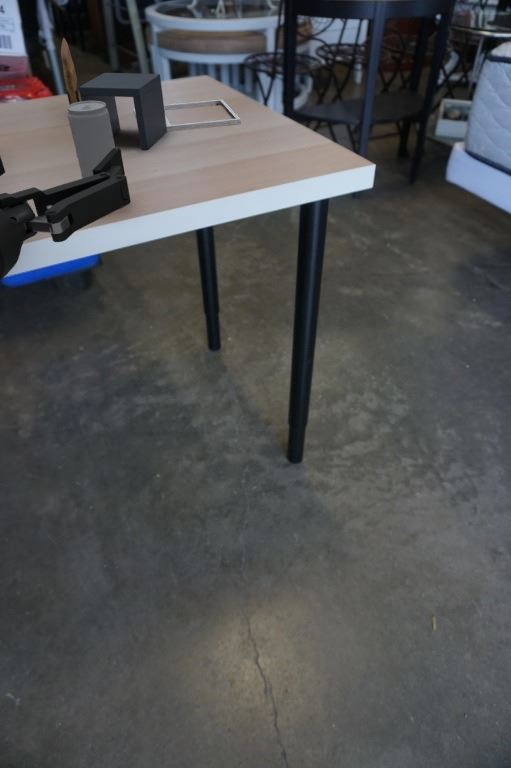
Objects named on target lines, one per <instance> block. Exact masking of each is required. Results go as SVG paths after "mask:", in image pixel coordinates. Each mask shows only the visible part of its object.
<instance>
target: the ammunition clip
mask: <svg viewBox="0 0 511 768" xmlns="http://www.w3.org/2000/svg"><path fill="white" fill-rule="evenodd" d="M60 58H61V63H62V69H63V78H64V82H65V87H66V95H67V100H68V106H69V105H70V104H73V103H77V102H82V101H81V95H80V92H79V87H80V83H79V82H80V81H79V78H78V77H77V73H76V67H75V63H74V61H73V58H72V55H71V51H70V47H69V44H68V41H67V40H66V38H65V37H62V42H61V47H60Z"/></svg>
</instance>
